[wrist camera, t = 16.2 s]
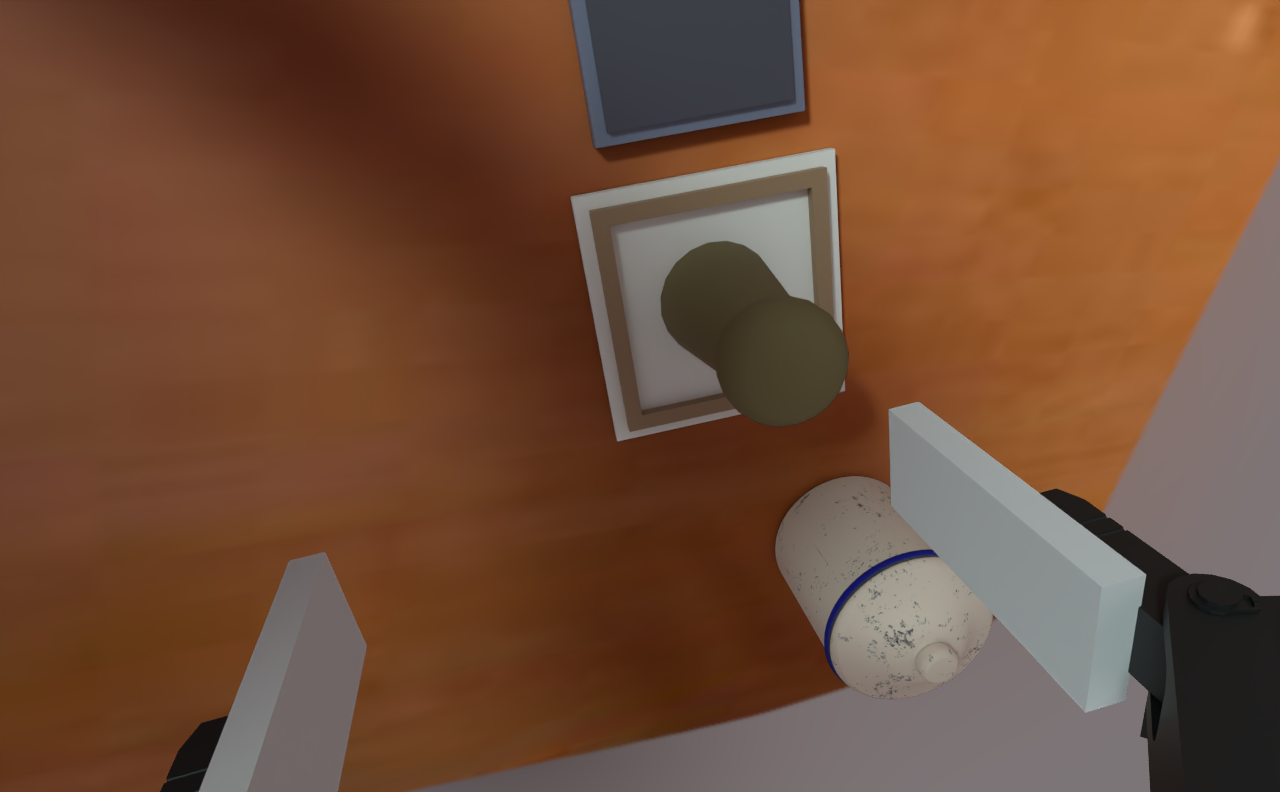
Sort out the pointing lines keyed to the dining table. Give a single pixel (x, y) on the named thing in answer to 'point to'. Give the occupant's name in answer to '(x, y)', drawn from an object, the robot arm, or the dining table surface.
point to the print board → (667, 230)
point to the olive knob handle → (754, 334)
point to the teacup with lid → (877, 591)
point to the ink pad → (685, 64)
